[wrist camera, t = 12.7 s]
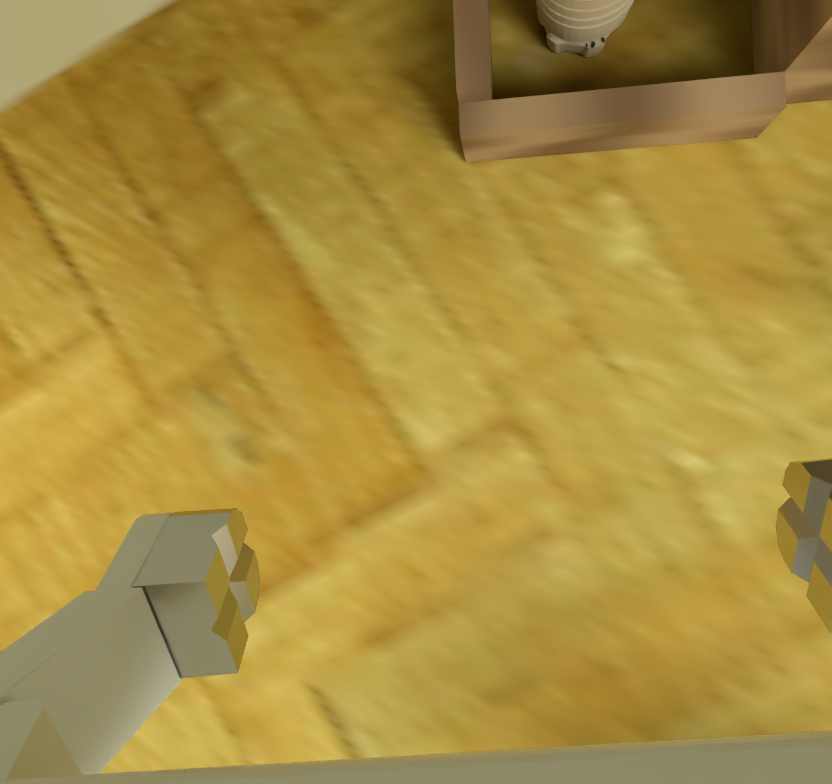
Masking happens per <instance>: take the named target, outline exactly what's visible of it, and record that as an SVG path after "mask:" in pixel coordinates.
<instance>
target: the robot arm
mask: <svg viewBox="0 0 832 784" xmlns="http://www.w3.org/2000/svg"><path fill="white" fill-rule="evenodd" d="M783 486H784V488H785V489H786V490H787V492H788V493H789V495H790V496H791V497H790V498H789V499H788V500H787V501H786V502H785V503H784V504H783V505H782V506H781V507H780V508H779V509H778V514H777V522H776V533H777V540H778V546H779V549H780V551H781V554H782V557H783V559H784V561H785V563H786V564H787V566H788V568H789V569H790V571H791V572H792V573H793V574H795V575H797V576H798V577H800V578H802V579H804V580H805V581H807V582H809V586H808V591H807V598H808V599H809V601H810V602H811V604H812V605H813V607H814V608H815V610H816V611H817V613H818V615H819V616H820V618H821V619H822V621H823V622H824V624H825V625H826V627H827V628H828V630H829V632H830V633H832V458H830V459H819V460H807V461H796V462H790V464H789V466H788V467H787V469H786V471H785V475H784V480H783ZM247 529H248V528H247V526H246V523H245V520H244V517H243V514H242V512H241V511H239V510H238V509H237V508H232V509H216V510H200V511H184V512H174V513H158V514H145V515H142V516H140V517H139V518H137V519H136V520H135V521H134V523H133V525H132V527H131V528H130V530H129V532H128V534H127V535H126V537H125V539H124V541H123V542H122V544H121V546H120V548H119V550H118V551H117V553H116V555H115V557H114V558H113V560H112V562H111V564H110V566H109V567H108V569H107V571H106V573H105V574H104V576H103V578H102V580H101V581H100V583H99V585H98V587H97V589H96V590H95V591H87V592H84V593H83V594H81V595H80V596H79V597H77V598H76V599H74V600H73V601H72V602H70V603H69V604H67V605H66V606H65V607H63V608H62V609H60V610H59V611H58V612H56V613H55V614H53V615H52V616H51V617H49V618H48V619H46V620H45V621H44V622H42V623H41V624H39V625H38V626H36V627H35V628H34V629H32V630H31V631H29V632H28V633H27V634H25V635H24V636H22V637H21V638H20V639H18V640H17V641H15V642H14V643H13V644H11V645H10V646H8V647H7V648H6V649H4V650H3V651H1V652H0V784H832V731H821V732H804V733H786V734H769V735H752V736H735V737H717V738H700V739H683V740H666V741H648V742H632V743H615V744H598V745H581V746H564V747H547V748H530V749H513V750H496V751H479V752H462V753H445V754H428V755H411V756H394V757H377V758H360V759H343V760H326V761H309V762H292V763H275V764H258V765H241V766H224V767H207V768H190V769H173V770H156V771H139V772H122V773H105V774H99V773H100V772H101V771H102V770H103V769H104V767H105V766H106V765H107V764H108V763H109V762H110V761H111V760H112V759H113V757H114V756H115V755H116V754H117V753H118V752H119V751H120V750H121V748H122V747H123V746H124V745H125V744H126V743H127V742H128V741H129V739H130V738H131V737H132V736H133V735H134V734H135V733H136V732H137V731H138V729H139V728H140V727H141V726H142V725H143V724H144V723H145V722H146V720H147V719H148V718H149V717H150V716H151V715H152V714H153V713H154V711H155V710H156V709H157V708H158V707H159V706H160V705H161V704H162V703H163V701H164V700H165V699H166V698H167V697H168V696H169V695H170V694H171V692H172V691H173V690H174V689H175V688H176V687H177V686H178V685H179V684H180V682H181V679H180V678H190V677H201V676H211V675H221V674H232V673H238V670H239V667H240V663H241V660H242V656H243V653H244V649H245V646H246V642H247V639H248V633H247V630H246V627H245V624H244V622H245V621H246V620H247V619H248V618H249V617H250V616H251V615H253V614H254V613H255V610H256V606H257V602H258V598H259V585H260V575H259V568H258V562H257V558H256V555H255V551H254V550H252V549H251V548H250V547H249V546H247V545H246V544H245V543H243V542H244V539H245V536H246V533H247Z"/></svg>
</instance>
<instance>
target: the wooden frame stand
mask: <svg viewBox="0 0 832 784" xmlns="http://www.w3.org/2000/svg"><path fill="white" fill-rule="evenodd" d="M751 6H752V33H753V60H754V75H744V76H733V77H723V78H713V79H703V80H692V81H682V82H672V83H661V84H651V85H641V86H630V87H620V88H610V89H600V90H589V91H579V92H569V93H558V94H548V95H538V96H527V97H517V98H507V99H497V100H493V85H492V59H491V32H490V6H489V0H453V19H454V46H455V72H456V93H457V98H458V103H459V127H460V139H461V143H462V148H463V152H464V157H465V161H466V162H475V161H487V160H499V159H511V158H523V157H534V156H546V155H558V154H570V153H582V152H593V151H605V150H617V149H629V148H641V147H652V146H664V145H676V144H688V143H700V142H711V141H723V140H735V139H747V138H757V137H758V136H759V134H760V133H761V132H762V131H763V130H764V129H765V128H766V127H767V126H768V125H769V124H770V123H771V122H772V121H773V120H774V119H775V118H776V117H777V116H778V115H779V114H780V113H781V112H782V111H783V110H784V108H785V107H786V104H789V103H800V102H811V101H822V100H832V0H751Z"/></svg>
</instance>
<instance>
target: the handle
mask: <svg viewBox="0 0 832 784" xmlns="http://www.w3.org/2000/svg"><path fill="white" fill-rule="evenodd" d="M633 2H634V0H536V3H537V5H536V9H537V17H538V20H539V23H540V24H541V25H543V26H544V28H545V30H546V33H547V44H548V47H549V48H550V49H551V50H552V51H553V52H555V53H560V52H564V51H569V52H576V53H579V54H582V55H583V56H584V57H585V58H588V57H592V56H595V55H597V54H598V53H600V52H601V50H602V49H603V47H604V45H605V43H606V40H607V37H608V36H609V35H610V33H611V32H612V31H614V30H615V29H617V28H619V27H620V26H621V24H622V23H623V21H624V20H625V17H626V15H627V13H628V11H629V9H630V7H631V5H632V4H633Z"/></svg>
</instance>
